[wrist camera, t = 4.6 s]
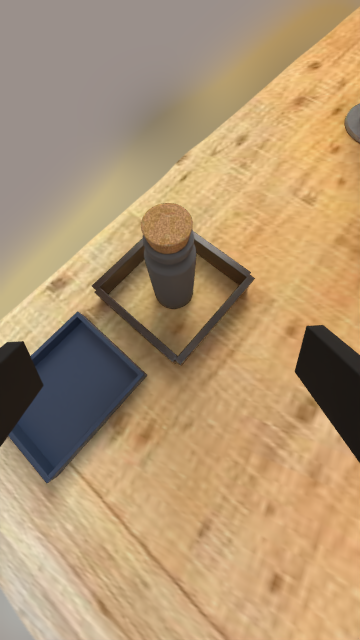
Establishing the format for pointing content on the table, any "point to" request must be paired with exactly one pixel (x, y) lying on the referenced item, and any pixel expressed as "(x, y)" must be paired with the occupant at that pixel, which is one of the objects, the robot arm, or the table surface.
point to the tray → (73, 394)
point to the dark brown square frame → (206, 252)
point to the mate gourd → (353, 122)
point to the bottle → (170, 253)
